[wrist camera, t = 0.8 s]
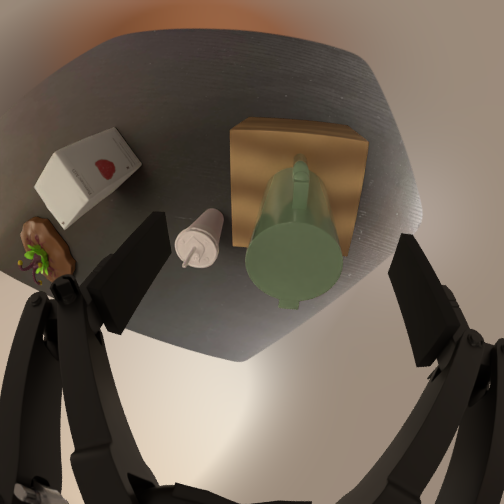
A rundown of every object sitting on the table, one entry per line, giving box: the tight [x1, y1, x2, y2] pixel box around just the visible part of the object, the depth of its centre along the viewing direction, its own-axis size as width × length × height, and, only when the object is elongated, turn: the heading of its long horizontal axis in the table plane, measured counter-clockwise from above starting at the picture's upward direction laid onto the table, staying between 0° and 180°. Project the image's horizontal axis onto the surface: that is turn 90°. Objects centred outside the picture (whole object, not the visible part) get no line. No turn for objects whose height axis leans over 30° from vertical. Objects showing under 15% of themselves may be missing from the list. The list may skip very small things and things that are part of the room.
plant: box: [18, 217, 76, 285], centre depth 53 cm, size 20×20×11 cm
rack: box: [230, 117, 369, 256], centre depth 33 cm, size 14×14×12 cm
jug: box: [245, 154, 343, 310], centre depth 23 cm, size 10×7×12 cm, turn 179°
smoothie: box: [175, 208, 224, 268], centre depth 40 cm, size 6×6×14 cm
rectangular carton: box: [34, 127, 142, 230], centre depth 35 cm, size 9×9×15 cm
